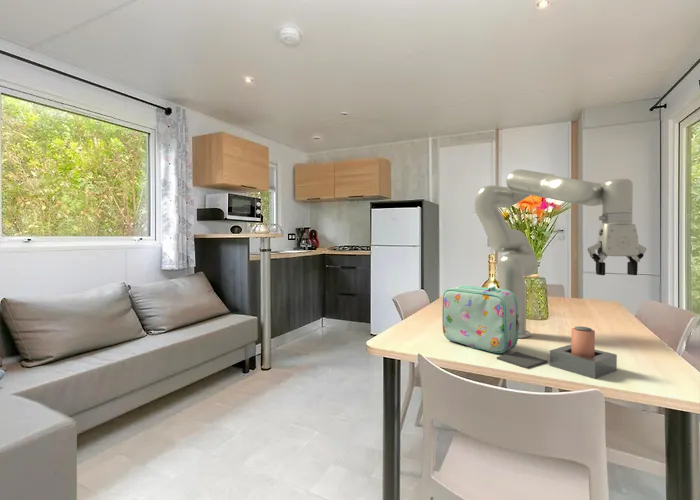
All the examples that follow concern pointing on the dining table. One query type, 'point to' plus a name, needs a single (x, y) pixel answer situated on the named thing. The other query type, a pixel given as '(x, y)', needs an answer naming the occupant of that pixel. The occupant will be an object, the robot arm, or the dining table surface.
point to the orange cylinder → (583, 341)
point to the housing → (583, 362)
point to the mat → (522, 360)
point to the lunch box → (481, 317)
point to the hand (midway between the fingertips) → (616, 274)
